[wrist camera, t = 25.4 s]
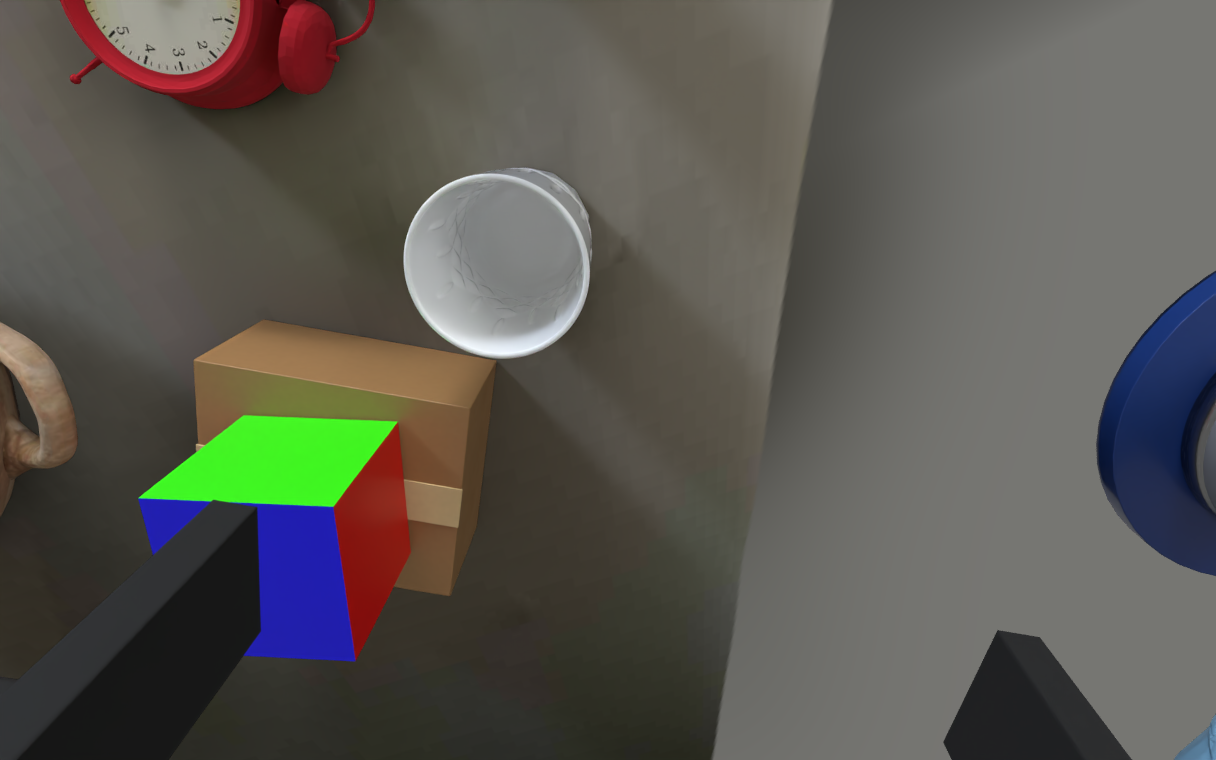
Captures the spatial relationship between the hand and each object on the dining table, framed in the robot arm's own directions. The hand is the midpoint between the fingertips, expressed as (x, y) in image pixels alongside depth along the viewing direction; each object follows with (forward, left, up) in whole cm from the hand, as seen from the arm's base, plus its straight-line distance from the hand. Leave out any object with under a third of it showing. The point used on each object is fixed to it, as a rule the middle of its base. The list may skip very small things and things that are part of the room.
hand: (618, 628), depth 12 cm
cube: (+14, +13, -22) cm, 29 cm away
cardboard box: (+14, +13, -29) cm, 34 cm away
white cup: (+6, -1, -29) cm, 29 cm away
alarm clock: (+22, -10, -29) cm, 38 cm away
